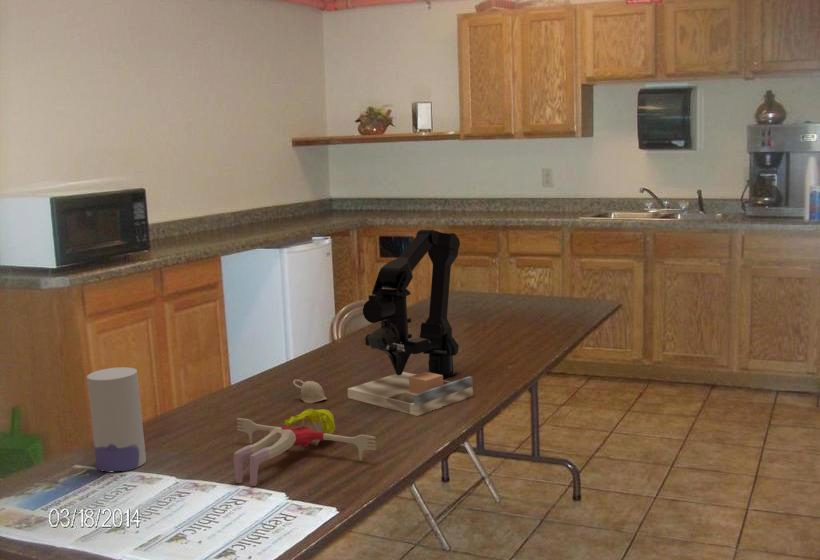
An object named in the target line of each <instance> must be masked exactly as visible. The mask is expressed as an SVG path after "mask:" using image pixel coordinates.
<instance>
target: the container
mask: <svg viewBox="0 0 820 560" xmlns="http://www.w3.org/2000/svg"><path fill="white" fill-rule="evenodd" d="M138 375H139V374H138V369H136V368H134V367H126V366H125V367H122V366H120V367H111V368H109V367H108V368H104V369H103V368H102V369H99V370H96V371H95V370H94V371H92V372H90V373H88V375H86V384H87V392H88V401H89V410H90V419H91V427H92V437H93V446H94V447H93V448H94V455H95V456H94V457H95V465H96V466H95V467H96V469H97V470H98V469H99V470H98V471H100V470H103V471H122V472H127V471H130V470H134V469H137V468H140V467H141V466H142V465H144V464H145V463H146V461H147V458H146V457H147V455H146V446H145V437H144V434H145V433H144V428H143V427H144V426H143V416H142V405H141V397H140V396H141V394H140V387H139V386H140V385H139V376H138Z"/></svg>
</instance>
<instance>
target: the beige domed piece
mask: <svg viewBox="0 0 820 560" xmlns="http://www.w3.org/2000/svg"><path fill="white" fill-rule="evenodd" d="M296 382H298V383H301V385H302V386H300V385H298V384H296ZM292 384H293V385H294V386H295V388H297V389H300V395H301V397H300V399H301V401H303V402H304V403H306V404H314V403H318V402H322V401H324V400H328V398H327V397H326V396H325V391H324V389H323V387H322V386H321V385H320V383H318V382H316V381H312V380H307V381H303V380H300V379H294V380H293V381H292Z"/></svg>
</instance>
